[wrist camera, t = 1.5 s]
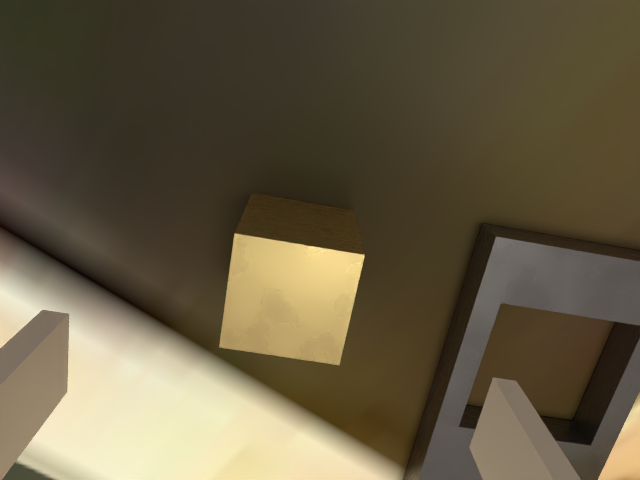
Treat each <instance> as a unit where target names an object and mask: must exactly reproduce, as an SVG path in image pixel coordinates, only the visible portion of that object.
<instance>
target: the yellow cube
mask: <svg viewBox="0 0 640 480" xmlns="http://www.w3.org/2000/svg"><path fill="white" fill-rule="evenodd" d="M364 256H365V254H364V251H363V247H362V243H361V239H360V236H359V232H358V228H357V224H356V221H355V217H354V213H353V210H349V209H343V208H337V207H331V206H325V205H320V204H314V203H308V202H302V201H296V200H291V199H285V198H279V197H273V196H267V195H262V194H256V193H252V194H251V196H250V199H249V201H248V203H247V206H246V208H245V210H244V213H243V215H242V217H241V219H240V222H239V224H238V226H237V229H236V231H235V233H234V241H233V248H232V256H231V263H230V271H229V278H228V286H227V293H226V301H225V308H224V316H223V323H222V331H221V338H220V345H219V347H221V348H228V349H235V350H241V351H248V352H255V353H262V354H268V355H275V356H282V357H288V358H295V359H302V360H309V361H315V362H322V363H329V364H336V365H339V364H340V360H341V356H342V351H343V347H344V343H345V338H346V334H347V330H348V325H349V321H350V317H351V312H352V308H353V304H354V299H355V295H356V291H357V286H358V282H359V278H360V273H361V269H362V264H363V260H364Z"/></svg>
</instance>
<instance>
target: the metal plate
mask: <svg viewBox="0 0 640 480" xmlns="http://www.w3.org/2000/svg"><path fill="white" fill-rule="evenodd" d="M501 303H504V304H510V305H516V306H523V307H529V308H535V309H541V310H547V311H553V312H559V313H566V314H572V315H578V316H584V317H590V318H596V319H602V320H609V321H615V325H614V327H613V329H612V332H611V334H610V336H609V338H608V341H607V343H606V345H605V348H604V350H603V352H602V355H601V357H600V359H599V362H598V364H597V366H596V369H595V371H594V373H593V376H592V378H591V380H590V382H589V385H588V387H587V389H586V392H585V394H584V396H583V399H582V401H581V403H580V406H579V408H578V410H577V413H576V415H575V417H574V419H573V421H571V420H564V419H557V418H550V417H543V416H540V418H541V420H542V421H543V423H544V424H545V426H546V427H547V429H548V430H549V432H550V433H551V435H552V436H553V438H554V439H555V441H556V442H557V444H558V445H559V447H560V448H561V450H562V452H563V453H564V455H565V456H566V458H567V459H568V461H569V462H570V464H571V465H572V467H573V468H574V470H575V471H576V473H577V474H578V476H579V477H580V479H581V480H598V478H599V476H600V473H601V471H602V469H603V467H604V465H605V463H606V461H607V459H608V457H609V454H610V452H611V450H612V448H613V446H614V444H615V442H616V440H617V438H618V436H619V433H620V431H621V429H622V427H623V425H624V423H625V421H626V419H627V417H628V414H629V412H630V410H631V408H632V406H633V404H634V402H635V400H636V398H637V396H638V393H639V391H640V251H639V250H633V249H627V248H622V247H616V246H610V245H604V244H599V243H593V242H587V241H582V240H576V239H570V238H564V237H559V236H553V235H547V234H542V233H536V232H530V231H524V230H519V229H513V228H507V227H501V226H496V225H490V224H484V223H482V226H481V229H480V232H479V235H478V239H477V242H476V245H475V248H474V252H473V255H472V258H471V261H470V265H469V268H468V271H467V274H466V278H465V281H464V284H463V287H462V291H461V294H460V297H459V300H458V304H457V307H456V310H455V313H454V317H453V320H452V323H451V326H450V330H449V333H448V336H447V339H446V343H445V346H444V349H443V352H442V356H441V359H440V362H439V365H438V369H437V372H436V375H435V378H434V382H433V385H432V388H431V391H430V395H429V398H428V401H427V404H426V408H425V411H424V414H423V417H422V421H421V424H420V427H419V430H418V434H417V437H416V440H415V443H414V447H413V450H412V453H411V456H410V460H409V463H408V466H407V469H406V473H405V476H404V479H403V480H483V479H482V477H481V474H480V472H479V469H478V467H477V465H476V462H475V460H474V458H473V455H472V453H471V450H470V448H469V447H470V444H471V441H472V438H473V435H474V432H475V429H476V426H477V423H478V420H479V417H480V414H481V412H482V409H483V408H481V407H475V406H468V405H466V404H467V401H468V398H469V395H470V392H471V389H472V386H473V383H474V380H475V377H476V374H477V371H478V369H479V366H480V363H481V360H482V357H483V354H484V351H485V348H486V345H487V342H488V339H489V336H490V333H491V330H492V327H493V324H494V321H495V319H496V316H497V313H498V310H499V307H500V304H501Z"/></svg>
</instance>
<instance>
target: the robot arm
mask: <svg viewBox="0 0 640 480" xmlns="http://www.w3.org/2000/svg"><path fill="white" fill-rule="evenodd" d="M68 340H69V314H67V313H60V312H53V311H47V310H42V311H41V312H40V313H39V314H38V315H37V316H35V317H34V318H33V319H32V320H31V321H30V322H29V323H28V324H27V325H26V326H25V327H23V328H22V329H21V330H20V331H19V332H18V333H17V334H16V335H15V336H14V337H13V338H11V339H10V340H9V341H8V342H7V343H6V344H5V345H4V346H3V347H2V348H0V480H2V478H3V477H4V476H5V475H6V473H7V472H8V471H9V469H10V468H11V466H12V465H13V464H14V462H15V461H16V460H17V458H18V457H19V456H20V454H21V453H22V452H23V450H24V449H25V448H26V446H27V445H28V444H29V442H30V441H31V440H32V438H33V437H34V436H35V434H36V433H37V432H38V430H39V429H40V427H41V426H42V425H43V423H44V422H45V421H46V419H47V418H48V417H49V415H50V414H51V413H52V411H53V410H54V409H55V407H56V406H57V405H58V403H59V402H60V401H61V399H62V398H63V397H64V395H65V394H66V393H67V378H68ZM469 448H470V450H471V453H472V455H473V458H474V460H475V462H476V465H477V467H478V469H479V472H480V474H481V477H482V479H483V480H581V479H580V477H579V476H578V474H577V473H576V471H575V470H574V468H573V467H572V465H571V464H570V462H569V461H568V459H567V458H566V456H565V455H564V453H563V452H562V450H561V448H560V447H559V445H558V444H557V442H556V441H555V439H554V438H553V436H552V435H551V433H550V432H549V430H548V429H547V427H546V426H545V424H544V423H543V421H542V420H541V418H540V416H539V415H538V413H537V412H536V410H535V409H534V407H533V406H532V404H531V403H530V401H529V400H528V398H527V397H526V395H525V394H524V392H523V391H522V389H521V387H520V386H519V384H518V383H517V381H513V380H506V379H500V378H493V379H492V382H491V385H490V388H489V391H488V394H487V397H486V400H485V403H484V406H483V409H482V412H481V414H480V417H479V420H478V423H477V426H476V429H475V432H474V435H473V438H472V441H471V444H470V447H469Z"/></svg>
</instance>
